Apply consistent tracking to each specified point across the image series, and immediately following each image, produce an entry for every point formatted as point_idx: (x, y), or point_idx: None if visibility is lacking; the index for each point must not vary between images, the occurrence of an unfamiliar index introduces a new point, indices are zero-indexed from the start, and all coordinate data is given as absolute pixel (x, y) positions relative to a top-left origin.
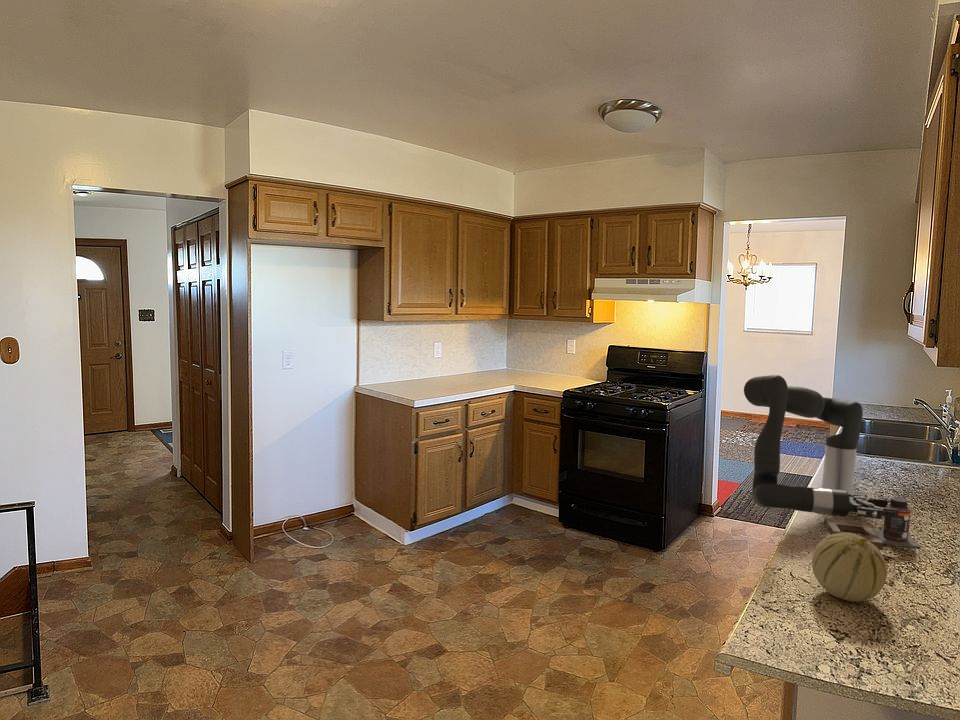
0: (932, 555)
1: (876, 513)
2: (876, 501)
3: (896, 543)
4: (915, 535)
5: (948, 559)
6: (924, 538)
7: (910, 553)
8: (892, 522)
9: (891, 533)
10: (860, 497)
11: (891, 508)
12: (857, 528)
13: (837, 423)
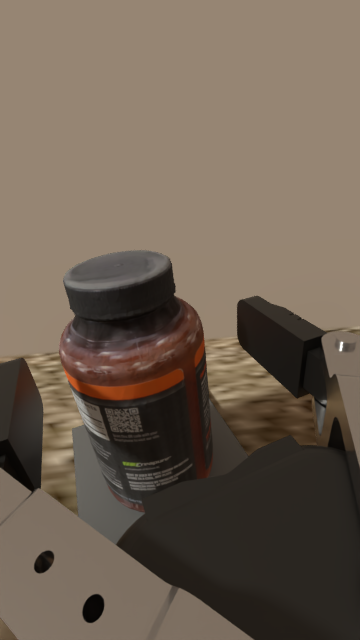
0: (241, 363)
1: (323, 419)
2: (22, 432)
3: (238, 447)
4: (49, 417)
5: (238, 340)
6: (73, 395)
7: (290, 404)
8: (207, 399)
9: (211, 447)
10: (133, 596)
11: (187, 335)
12: None
13: None
